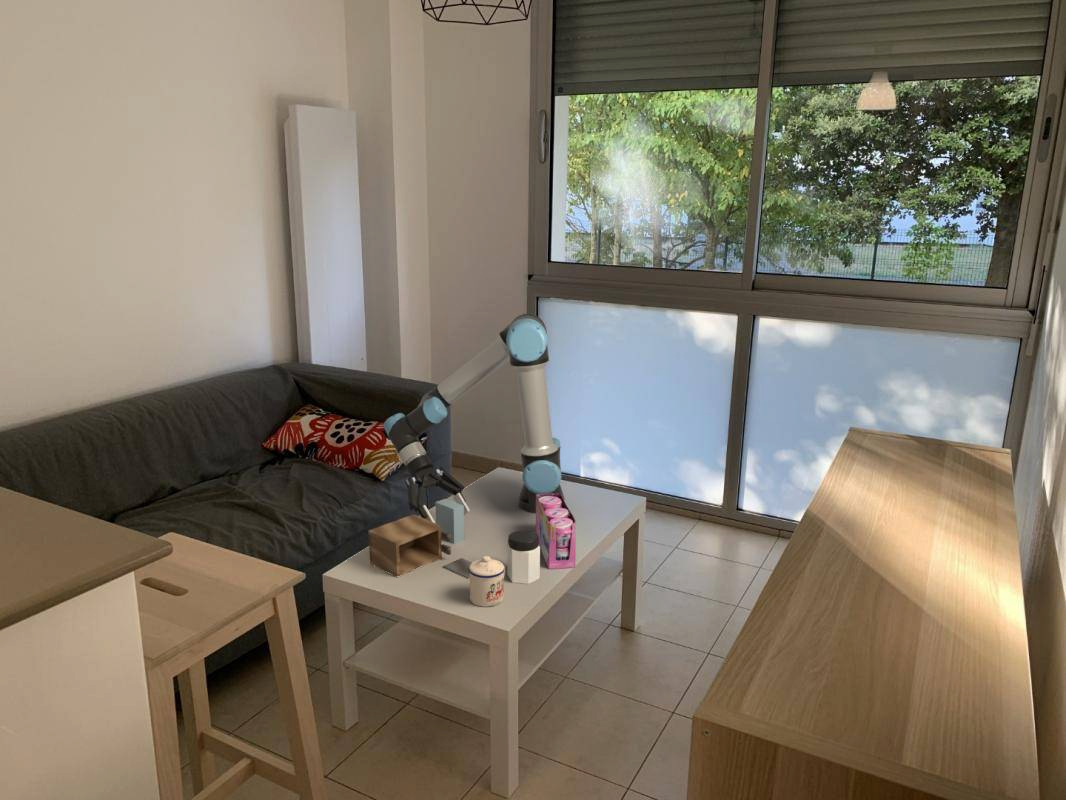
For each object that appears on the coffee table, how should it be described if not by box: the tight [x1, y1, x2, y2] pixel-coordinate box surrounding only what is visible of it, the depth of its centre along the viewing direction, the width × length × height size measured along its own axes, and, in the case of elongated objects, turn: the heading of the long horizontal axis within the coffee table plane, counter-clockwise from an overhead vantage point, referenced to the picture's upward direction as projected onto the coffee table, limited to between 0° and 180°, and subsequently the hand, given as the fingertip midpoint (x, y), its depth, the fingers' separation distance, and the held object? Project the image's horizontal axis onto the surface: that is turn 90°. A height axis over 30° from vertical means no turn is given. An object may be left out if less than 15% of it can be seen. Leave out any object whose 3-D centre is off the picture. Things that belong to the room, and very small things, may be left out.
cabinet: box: [368, 513, 473, 579], centre depth 227 cm, size 20×26×10 cm
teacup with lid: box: [469, 555, 506, 608], centre depth 210 cm, size 12×9×12 cm
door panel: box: [434, 498, 465, 545], centre depth 245 cm, size 8×4×11 cm, turn 48°
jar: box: [506, 529, 541, 585], centre depth 221 cm, size 9×8×12 cm
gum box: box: [535, 493, 577, 570], centre depth 236 cm, size 24×8×14 cm, turn 9°
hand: (450, 519), depth 245 cm, fingers open, 13 cm apart
